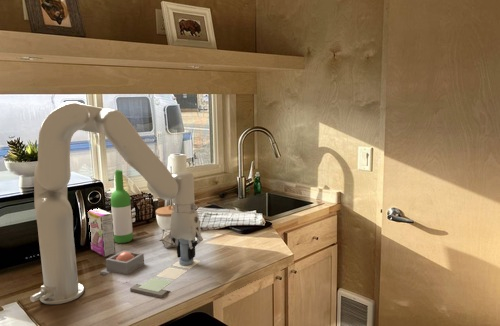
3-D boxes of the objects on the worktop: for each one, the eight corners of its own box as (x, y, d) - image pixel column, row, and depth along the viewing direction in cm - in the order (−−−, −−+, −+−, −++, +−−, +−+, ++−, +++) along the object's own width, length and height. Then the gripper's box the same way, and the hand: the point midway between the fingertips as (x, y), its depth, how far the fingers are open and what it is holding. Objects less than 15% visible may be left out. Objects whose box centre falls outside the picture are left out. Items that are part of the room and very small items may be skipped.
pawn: (188, 266, 145) (187, 235, 143) (176, 264, 147) (175, 234, 145) (196, 261, 149) (194, 231, 147) (184, 259, 151) (183, 229, 149)
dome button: (126, 272, 142) (125, 256, 141) (113, 269, 144) (111, 254, 143) (138, 265, 147) (137, 250, 146) (124, 262, 149) (123, 248, 148)
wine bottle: (114, 245, 170) (109, 173, 165) (113, 239, 177) (108, 169, 172) (134, 242, 173) (129, 171, 168) (132, 236, 180) (127, 168, 175)
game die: (174, 258, 164) (175, 244, 157) (155, 250, 165) (155, 236, 158) (184, 241, 171) (186, 227, 163) (165, 233, 172) (166, 219, 165)
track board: (161, 298, 125) (161, 294, 125) (130, 291, 130) (130, 287, 130) (208, 263, 150) (208, 260, 150) (180, 258, 155) (180, 255, 155)
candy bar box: (90, 250, 165) (86, 210, 162) (101, 246, 168) (98, 207, 166) (104, 257, 157) (100, 215, 154) (116, 253, 161) (112, 212, 158)
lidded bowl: (190, 228, 189) (189, 204, 188) (168, 235, 180) (167, 211, 178) (172, 223, 197) (171, 200, 196) (151, 229, 188) (149, 206, 186)
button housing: (128, 279, 138) (126, 265, 137) (100, 274, 143) (99, 260, 142) (150, 266, 149) (149, 252, 148) (124, 261, 153) (123, 248, 153)
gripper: (210, 206, 145) (211, 256, 148) (170, 202, 151) (172, 250, 154) (199, 212, 138) (201, 264, 141) (157, 207, 145) (160, 257, 148)
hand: (186, 256), depth 148 cm, fingers closed on pawn, 4 cm apart
